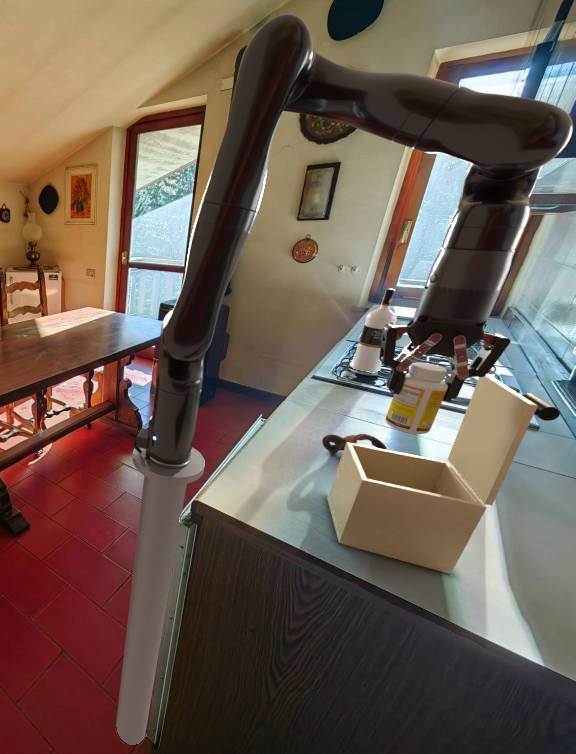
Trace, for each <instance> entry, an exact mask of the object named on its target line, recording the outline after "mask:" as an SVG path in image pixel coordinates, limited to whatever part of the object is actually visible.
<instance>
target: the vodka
mask: <svg viewBox="0 0 576 754" xmlns="http://www.w3.org/2000/svg"><path fill="white" fill-rule="evenodd" d="M395 293H396V289H394V288H386V289H385V291H384V294H383V297H382V300H381V303H380V306H379V308H376V309H374V310H372V311H369V312H368V313H367V315H366V316H365V322H364V323H363V324H364V325H363V329H362V332H361V335H360V338H359V341H358V343H357V347H356V350H355V353H354V355H353V357H352V360H351V362H350V363H349V365H350V366H351V367H352V368H353V369H356V370H363V371H370V372H378V371H380V370H382V364H383V362H381V361H380V359H379V355H380V346H381V337H382V328H383V326H384V325H386V324H390V325H392V326H396V323H397V320H398V316H397V314H396V313H395V312H394V311H392V310H391V305H392V301H393V299H394V296H395ZM348 370H349V371H350V372H352V373H353V374H357V375H361V376H367V377H375V376H378V375H379V374H365V373H361V372H357V371H354V370H352V369H350V368H349V367H348ZM380 372H381V371H380Z"/></svg>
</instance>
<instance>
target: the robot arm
mask: <svg viewBox="0 0 576 754" xmlns="http://www.w3.org/2000/svg"><path fill="white" fill-rule="evenodd" d="M230 104H231V105H230V110H229V114H228V119H227V122H226V125H225V126H226V127H225V130H224V133H223V137H222V139H221V142H220V145H219V148H218V151H217V154H216V157H215V160H214V163H213V165H212V168H211V172H210V174H209V178H208V181H207V185H206V187H205V190H204V193H203V196H202V198H201V202H200V205H199V208H198V212H197V214H196V218H195V221H194V225H193V229H192V233H191V237H190V242H189V247H188V254H187V259H186V260H187V261H186V266H185V273H184V278H183V281H182V282H183V283H182V286H181V289H180V292H179V295H178V298H177V299H176V302H175V305H174V307H173V309H172V310H170V311H169V312H168V313H167V314H166V315H165V317H164V319H163V320H162V323H161V327H160V333H159V334H160V335H159V345H158V354H157V362H156V372H155V373H156V374H155V384H154V394H153V403H152V410H151V417H150V418H149V421H148V426H147V428H144V427H141V429H140V431H139V432H138V434H137V436H136V437H135V438H134V439H133V442H132V444H133V448H135V449H136V450H137V451H138V452H139V454H140V453H142V451H141V449H140V448H143V449H146V453H145V459H149V460H151V461H152V462H153V463H155V464H157V465H159V466H161V467H165V468H172V469H177V468H183V467H185V466H187V465H188V464H189V463H190V459H191V450H192V447H193V444H194V437H195V432H196V426H197V419H198V414H199V409H200V408H199V407H200V402H201V394H202V389H203V382H204V366H205V365H204V364H205V363H204V362H205V356H206V352H207V351H208V349H209V348H210V347H211V344H212V342H213V338H214V334H215V331H216V330H215V329H216V326H217V321H218V318H219V313H220V310H221V306H222V302H223V299H224V296H225V293H226V290H227V287H228V286H229V283H230V281H231V279H232V276H233V275H234V272H235V270H236V267H237V265H238V262H239V261H240V259H241V256H242V253H243V251H244V248H245V246H246V243H247V240H248V239H249V237H250V233H251V232H252V228H253V225H254V223H255V220H256V217H257V215H258V212H259V209H260V206H261V202H262V199H263V196H264V190H265V185H266V180H267V174H268V167H269V161H270V156H271V149H272V146H273V141H274V137H275V134H276V131H277V128H278V125H279V122H280V120H281V118H282V115H283V113H284V112H288V113H295V114H300V115H301V114H302V115H308V116H312V117H318V118H322V119H326V120H329V121H333V122H336V123H340V124H344V125H346V126H349V127H352V128H354V129H357V130H360V131H363V132H366V133H368V134H371V135H374V136H376V137H378V138H382V139H385V140H387V141H390V142H393V143H396V144H397V145H401V146H404V147H406V148H409V149H413V150H415V151H419V152H423V153H427V154H443V155H447V156H450V157H451V158H455V159H458V160H461V161H464V162H467V163H468V167H467V170H466V173H465V178H464V181H463V186H462V189H461V193H460V196H459V201H458V205H457V208H456V209H455V212H454V214H453V216H452V218H451V220H450V222H449V224H448V228H447V230H446V233H445V236H444V239H443V242H442V244H441V248H440V249H439V252H438V254H437V256H436V257H435V259H434V260H433V263H432V265H431V268H430V270H429V273H428V276H427V279H426V282H425V284H424V287H423V290H422V293H421V295H420V297H419V301H418V304H417V307H416V309H415V311H414V315H413V317H412V319H411V320H410V321H409V322H408V323H407V324H402V325H401V324H400V325H394V326H392V325H390V324H386V325H384V326H383V328H382V337H381V346H380V355H379V359H380V361H381V362H382V364H383V366H385V367H389V368H391V369H390V372H389V376H387V377H388V378H387V380H386V382H385V384H386V388H387V389H388V391H389V393H390V394H392V395H394V394H397V395H398V394H399V392H400V389H401V387H402V384H403V382H404V379H405V376H406V374H408V373H407V372H406V370H408V369H409V367H411V366H412V364H413V363H416V362H417V361H419V360H420V359H421V358H422V357H423V356H424V355H426V356H441V357H444V358H446V359H447V361H448V365H449V370H450V373H446V374H447V375H446V376H445V378H444V381H445V382H446V383H447V384H448V388H447V391H446V393H445V396H444V398H443V401H442V402H446V403H447V402H448V403H450V402H451V401H452V399H454V400H455V399H457V398H458V397H459V394H460V392H461V390H462V388H463V386H464V384H465V381H466V380H468V379H470V378H475V377H478V378H479V377H484V376H486V375H487V374H489V373H490V371H491V370H492V368H493V367H494V366H495V364H496V363H497V362H498V360H499V359H500V357H501V356H502V355H503V354H504V352H505V351H506V349H507V348H508V347H509V345H510V344H511V341H512V340H511V339H510V338H509V337H507V336H505V335H502V334H499V333H488V332H486V329H485V325H486V323H487V321H488V320H489V317H490V315H491V313H492V311H493V309H494V306H495V304H496V302H497V299H498V297H499V296H500V293H501V291H502V288H503V286H504V285H505V284H506V282H507V276H508V275H509V272H510V269H511V267H512V261H513V258H514V254H515V251H516V249H517V247H518V244H519V242H520V240H521V238H522V235H523V233H524V232H525V228H526V226H527V224H528V221H529V218H530V215H531V204H530V199H531V196H532V193H533V191H534V189H535V186H536V184H537V182H538V180H539V179H538V178H539V176H540V174H541V172H542V170H543V168H544V165H546V164H548V163H549V162H550V161H552V160H553V159H555V158H556V157H557V156H558V155H559V154H561V153H562V151H563V150H564V149H565V148H566V146H567V145H568V143H569V141H570V140H571V138H572V134H573V131H574V122H573V119H572V117H571V115H570V114H569V113H568V112H567V111H566V110H565V109H563V108H562V107H560V106H558V105H555V104H552V103H551V102H546V101H543V100H537V99H533V98H527V97H520V96H515V95H506V94H500V93H487V92H481V91H478V90H477V91H476V90H474V89H471V88H469V87H466V86H462V85H459V84H456V83H452V82H449V81H445V80H442V79H437V78H436V77H435V78H434V77H431V76H426V75H420V74H417V73H409V72H396V71H374V70H373V71H371V70H362V69H356V68H353V67H348V66H345V65H343V64H340V63H336V62H335V61H333V60H330V59H329V58H327V57H325V56H323V55H322V54H320V53H318V52H317V51H315V44H314V39H313V36H312V33H311V30H310V28H309V27H308V25H307V23H306V22H305V20H303V18H301V17H300V16H298V15H296V14H294V13H282V14H279V15H276V16H274V17H272V18H270V19H269V20H267V22H265V23H264V24H263V25H261V27H260V28H259V29H257V31H256V32H255V33H254V34H253V36H252V37H251V39H250V41H249V42H248V43H247V46H246V47H245V50H244V52H243V54H242V57H241V60H240V64H239V68H238V73H237V77H236V81H235V86H234V91H233V95H232V100H231V103H230ZM405 334H407V336H408V338H409V340H410V341H409V342H408V343H407V344H406V345H405V347H403V348H402V350H401V352H400V353H399V354H398V355H397V357H395V355H396V354H395V353H396V347H397V341H399V340H401V339H402V337H403V335H405ZM479 342H480V343H479ZM477 343H479V346H480V347H481V348H480V350H479V351H478V352H477V354H476V356H475V357H474V358H473V360H472V361H471V362H470V363H469V357H468V351H467V350H468V349H469V348H471V347H473V346H474V345H475V344H477ZM468 364H469V365H468Z"/></svg>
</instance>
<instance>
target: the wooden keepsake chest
mask: <svg viewBox="0 0 576 754" xmlns="http://www.w3.org/2000/svg"><path fill="white" fill-rule="evenodd" d="M327 503H328V507H329V510H330V515H331V518H332V519H331V520H332V522H333V526H334V530H335V533H336V537H337V540H338V543H339V544H340V545H341V544H342V545H344V546H348V547H350V548H351V547H352V548H355V549H359V550H363V551H366V552H369V553H373V554H377V555H380V556H384V557H387V558H391V559H395V560H399V561H402V562H406V563H409V564H413V565H416V566H420V567H423V568H427V569H431V570H434V571H438V572H441V573H445V574H449V575H451V574H452V572H453V571H454V569H455V567H456V566H457V563H458V562H459V559H460V558H461V557H462V554H463V553H464V550H465V548H466V547H467V545H468V543H469V541H470V539H471V537H472V536H473V534H474V532H475V530H476V528H477V526H478V525H479V522H480V521H481V519H482V517H483V516H484V513H485V512H486V510H487V506H486V504H484V503H483V501H482V500H481V499H480V498H479V496H478V495H477V494H476V493H475V492H474V490H473V489H472V488H471V487H470V486H469V484H468V483H467V482H466V481H465V479H464V478H463V477H462V476H461V475H460V473H459V472H458V471H457V470H456V469H455V467H454V466H453V465H452V464H451V462H450V461H447V460H441V459H437V458H431V457H426V456H420V455H416V454H411V453H406V452H400V451H395V450H391V449H390V450H389V449H387V450H385V449H380V448H377V447H375V446H369V445H364V444H359V443H357V444H354V443H349V442H346V445H345V448H344V451H342V454H341V457H340V460H339V463H338V466H337V469H336V472H335V475H334V477H333V480H332V483H331V487H330V489H329V491H328V495H327Z"/></svg>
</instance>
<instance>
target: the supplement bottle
mask: <svg viewBox="0 0 576 754" xmlns="http://www.w3.org/2000/svg"><path fill="white" fill-rule="evenodd" d="M447 371H448V369H447V368H445V367H443V366H440V365H437V364H432V363H426V362H413V363H412V364H411V365H410V368H409V372H408V373H407V374H406V376H405V379H404V382H403V384H402V387H401V389H400V392H399V394H398V395H397V394H393V397H392V399H391V401H390V405H389V408H388V410H387V413H386V416H385V422H386V424H387V425H388V426H390V427H391V428H392V429H394V430H398V431H400V432H404V433H406V434H412V435H413V434H414V435H425V434H427V433H429V432H430V431H431V429H432V427H433V424H434V422H435V420H436V417H437V414H438V412H439V411H440V408H441V405H442V403H443V402H444V401H443V398H444V396H445V393H446V391H447V388H448V384H447V383H446V382H445V379H446V374H447Z"/></svg>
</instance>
